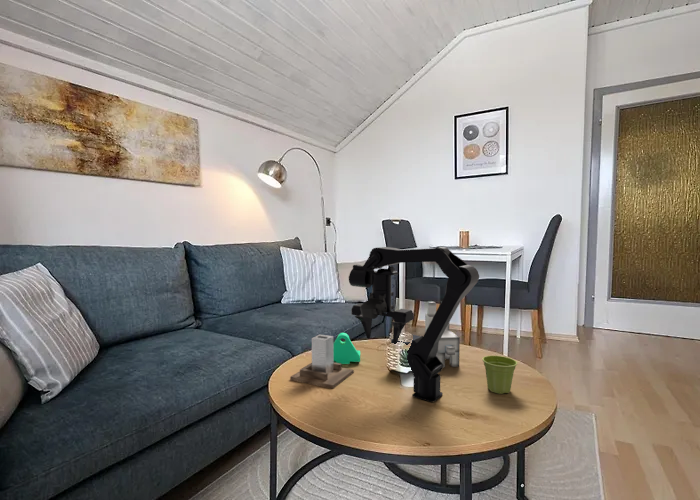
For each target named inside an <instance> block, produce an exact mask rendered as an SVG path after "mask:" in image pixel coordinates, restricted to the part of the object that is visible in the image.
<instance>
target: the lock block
mask: <svg viewBox="0 0 700 500" xmlns="http://www.w3.org/2000/svg"><path fill="white" fill-rule="evenodd" d="M333 343H334V335H327V334H318V335H316V336H314V337H311V363H312V370H313V371H319V372H324V373H328V375H330V374H331V373H333V372H334V365H333V362H334V361H333Z"/></svg>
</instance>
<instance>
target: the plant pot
mask: <svg viewBox="0 0 700 500" xmlns="http://www.w3.org/2000/svg"><path fill="white" fill-rule="evenodd" d="M481 359H482V362H483V365H484V368H485V377H486V383H487V384H486V385H487V390H489V391H490V392H492V393H495V394H500V395H503V394H509V393H511V390H512V383H513V377H514V374H515V373H514V372H515V370H516V366H517V365H518V361H517V360H515V359H514V358H511V357H509V356H507V357H506V356H502V355H486V356H483V357H482V358H481Z"/></svg>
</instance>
